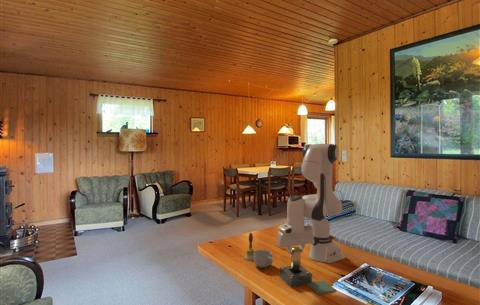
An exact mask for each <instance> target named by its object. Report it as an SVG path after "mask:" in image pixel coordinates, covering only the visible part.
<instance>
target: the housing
mask: <svg viewBox="0 0 480 305" xmlns="http://www.w3.org/2000/svg"><path fill="white" fill-rule="evenodd" d="M279 277H280V279H282V281H284V282H285V283H286V284H287V286H288V287H289V288H291V289H292V288H297V287H302V286H308V285H307V283H312V282H313V274H312V273H311V272H310V271H309V270H307V269H306V268H305V267H303V266H302V265H301V268H300V269H293V268H292V267H291V265H288V266H281V267H279Z"/></svg>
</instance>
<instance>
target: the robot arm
mask: <svg viewBox="0 0 480 305" xmlns="http://www.w3.org/2000/svg"><path fill="white" fill-rule="evenodd" d="M339 155H340V151H339V146H337V145H336V144H334V143H315V144H311V143H310V144H309V143H308V144H306V145H305V146H303V148H302V157H303V160H302V164H301V169H300V170H301V175H302V176H303V177H304V178H305V179H306V180H307V181H310V182H311V183H313V186H314V188H315V189H317V190H316V194H306V195H305V194H304V195H303V196H301V195H298V194H294V195H290V196H289V197H288V200H287V204H286V205H287V206H286V214H287V219H286V222H285V223H284V224H280V226H278V233H277V238H276V239H277V240H276V243H277V245H278V247H279V248H287V250H288V254H289V255H291V254H293V253H292V252H293V251H292V250H291V247H296V246H300V247H299V248H300V253H303V252H304V248H305V246H306V245H308V244H310V251H309V254H308V257H309V259H311V260H313V261H316V262H321V263H326V264H331V263H335V262H338V261H341V260H345V259H346V255H345V254H344V253H342V250H341V247H340V246H339V244H337V243H336V242H334V241H333V240H336V236H334V235H331V234H330V233H331V224H330V223H329V221H328V220H327V219H326V218H327V215H328V216H335V215H337V216H338V215H339V214H340V213H341V212H342V210H343V203H342V201H341V200H340V199H339V198H338V197H337V195H336V193H335V192H334V190H333V164H334V162H336V161H337V160H338V158H339ZM304 218H305V219H309V220H310V224H308V225H305V219H304Z"/></svg>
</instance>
